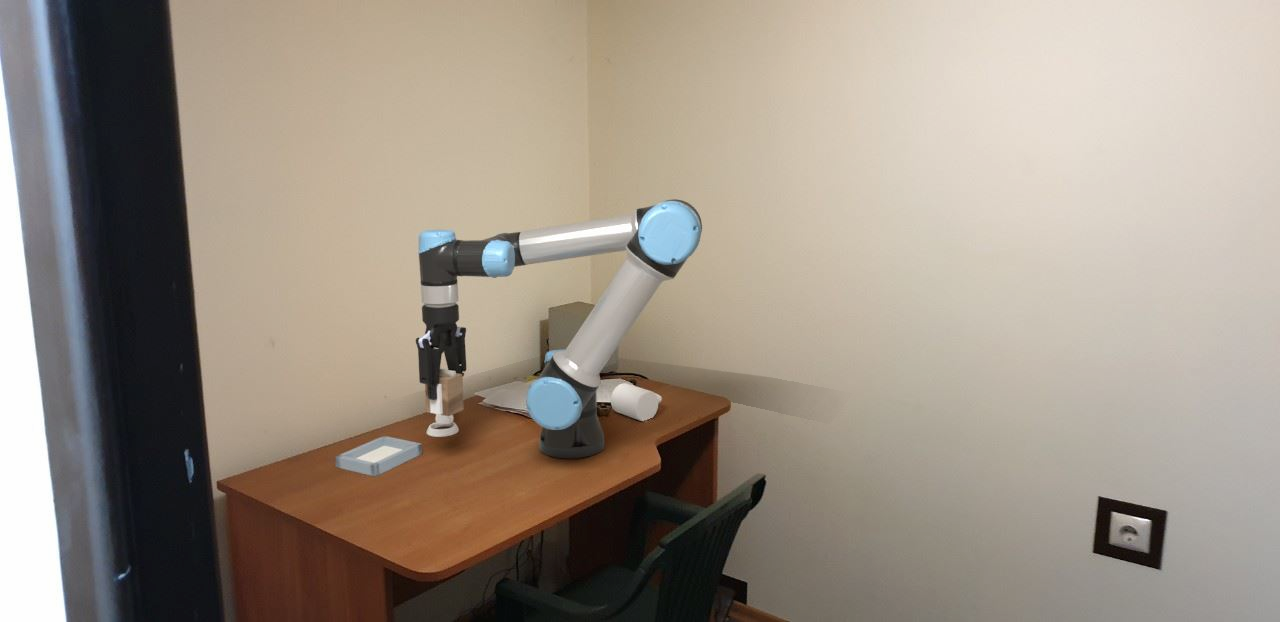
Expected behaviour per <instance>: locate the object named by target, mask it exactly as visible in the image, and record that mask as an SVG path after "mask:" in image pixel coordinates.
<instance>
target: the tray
mask: <svg viewBox="0 0 1280 622" xmlns="http://www.w3.org/2000/svg"><path fill="white" fill-rule="evenodd" d="M420 455H423V444H422V443H420V442H416V441H411V440H405V439H402V438H396V437H392V436H387V435H383V436H381V437H378V438H375V439H373V440H370V441H369V442H366V443H364V444H361V445H359V446H357V447H354V448H352V449H350V450H348V451H345V452H343V453H340V454H338V455H335V457H334V461H335V468H338V469H343V470H346V471H350V472H354V473H358V474H364V475H366V476H371V477H378V476H380V475H381V474H384V473H385V472H388V471H390V470H392V469H393V468H396V467H398V466H401V465H402V464H404V463H405V462H408V461H411V460H412V459H415V458H416V457H418V456H420Z"/></svg>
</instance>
